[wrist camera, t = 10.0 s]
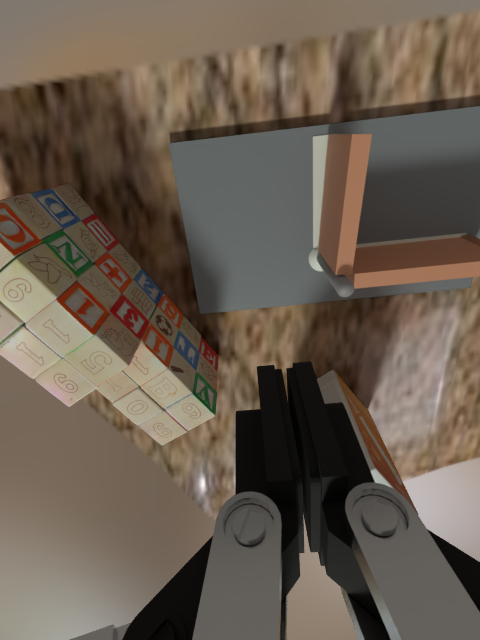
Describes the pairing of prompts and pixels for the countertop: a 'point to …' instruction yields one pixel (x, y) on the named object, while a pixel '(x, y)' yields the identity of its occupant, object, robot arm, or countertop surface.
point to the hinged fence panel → (342, 206)
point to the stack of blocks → (96, 318)
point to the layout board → (320, 204)
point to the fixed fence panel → (416, 262)
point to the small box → (363, 432)
